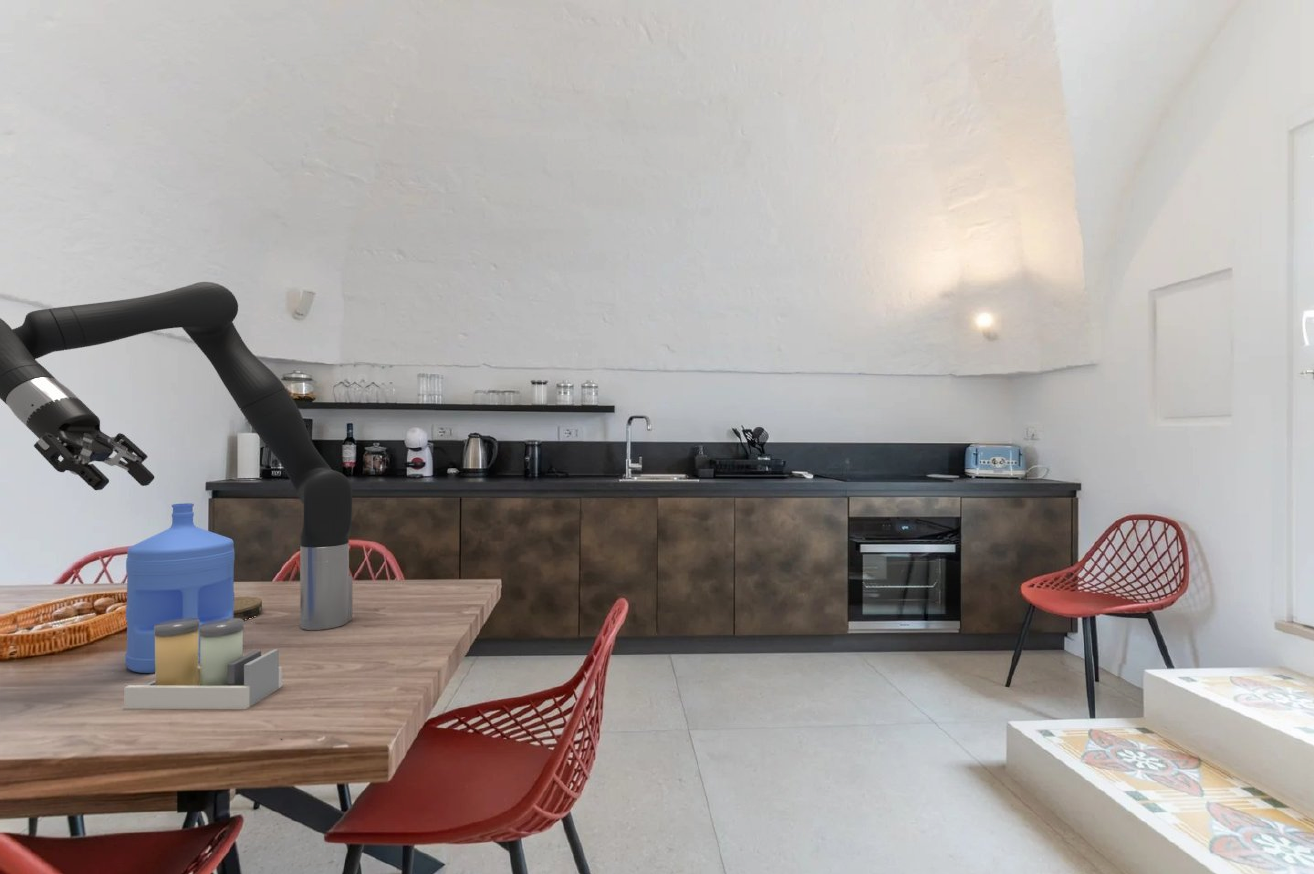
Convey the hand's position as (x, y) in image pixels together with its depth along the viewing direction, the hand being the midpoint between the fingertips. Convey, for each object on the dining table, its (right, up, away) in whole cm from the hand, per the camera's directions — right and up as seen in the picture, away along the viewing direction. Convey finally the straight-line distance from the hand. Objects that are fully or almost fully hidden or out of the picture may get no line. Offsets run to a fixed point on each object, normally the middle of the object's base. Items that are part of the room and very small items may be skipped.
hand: (127, 484), depth 99 cm
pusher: (+22, -31, -5) cm, 39 cm away
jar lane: (+16, -32, -5) cm, 37 cm away
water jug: (-2, -33, +14) cm, 36 cm away
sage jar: (+19, -31, -5) cm, 37 cm away
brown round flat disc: (-14, -33, +41) cm, 55 cm away
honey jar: (+12, -31, -5) cm, 34 cm away
